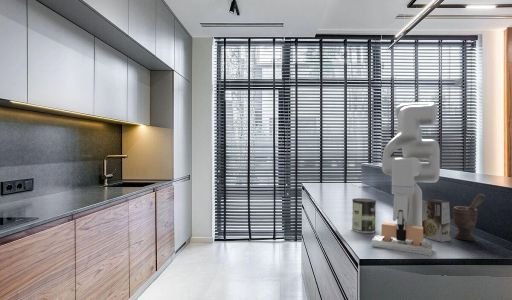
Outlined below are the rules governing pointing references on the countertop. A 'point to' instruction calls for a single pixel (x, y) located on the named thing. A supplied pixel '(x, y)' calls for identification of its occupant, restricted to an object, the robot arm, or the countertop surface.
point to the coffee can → (363, 215)
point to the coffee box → (436, 219)
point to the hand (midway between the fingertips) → (401, 238)
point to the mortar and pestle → (466, 219)
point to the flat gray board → (402, 245)
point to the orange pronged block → (411, 232)
